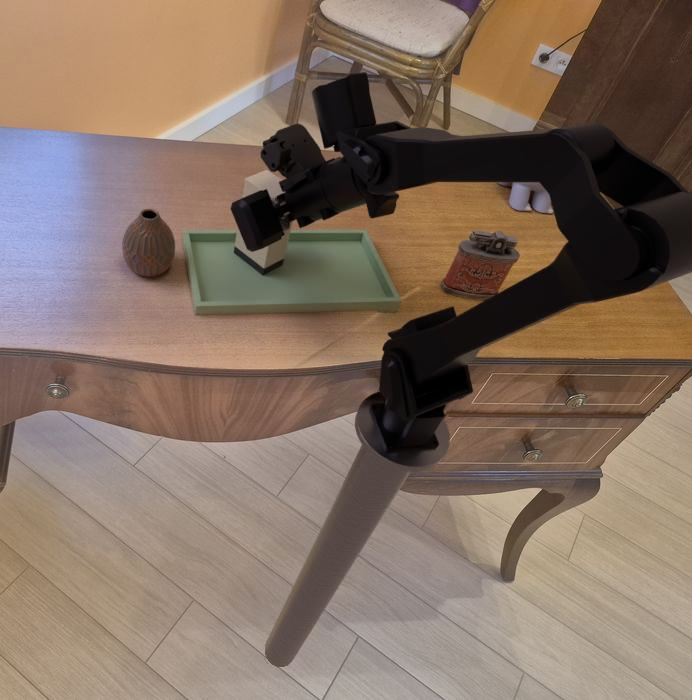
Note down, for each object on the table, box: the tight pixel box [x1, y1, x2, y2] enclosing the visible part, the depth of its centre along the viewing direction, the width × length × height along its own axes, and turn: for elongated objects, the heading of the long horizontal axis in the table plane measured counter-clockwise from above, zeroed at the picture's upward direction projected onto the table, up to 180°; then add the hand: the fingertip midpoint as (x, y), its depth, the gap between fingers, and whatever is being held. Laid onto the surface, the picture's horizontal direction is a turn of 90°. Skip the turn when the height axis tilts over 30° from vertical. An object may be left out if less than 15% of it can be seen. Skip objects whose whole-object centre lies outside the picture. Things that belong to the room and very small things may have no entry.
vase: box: [121, 208, 176, 278], centre depth 80 cm, size 7×7×9 cm
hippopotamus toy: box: [496, 182, 554, 215], centre depth 104 cm, size 11×15×10 cm
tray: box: [181, 229, 403, 316], centre depth 85 cm, size 16×28×2 cm, turn 99°
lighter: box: [439, 229, 520, 301], centre depth 84 cm, size 8×3×10 cm, turn 84°
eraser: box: [234, 169, 294, 275], centre depth 82 cm, size 6×4×12 cm, turn 42°
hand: (258, 217), depth 83 cm, fingers closed on eraser, 4 cm apart
